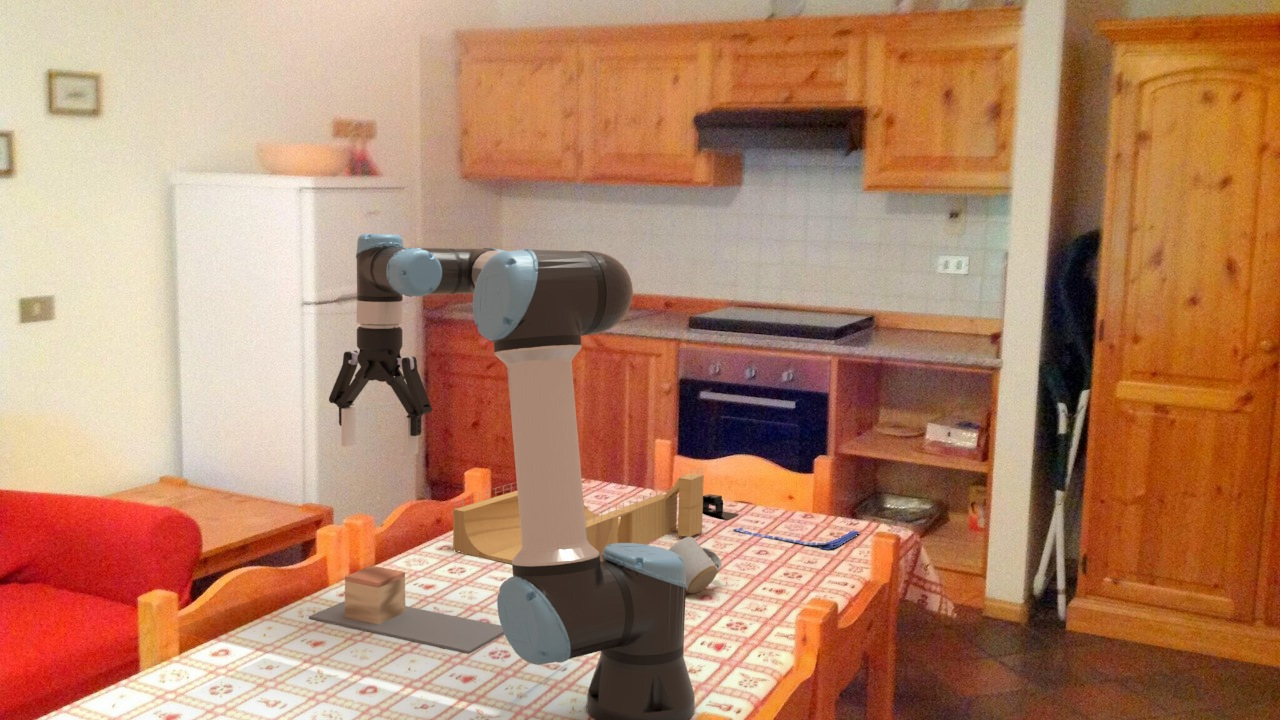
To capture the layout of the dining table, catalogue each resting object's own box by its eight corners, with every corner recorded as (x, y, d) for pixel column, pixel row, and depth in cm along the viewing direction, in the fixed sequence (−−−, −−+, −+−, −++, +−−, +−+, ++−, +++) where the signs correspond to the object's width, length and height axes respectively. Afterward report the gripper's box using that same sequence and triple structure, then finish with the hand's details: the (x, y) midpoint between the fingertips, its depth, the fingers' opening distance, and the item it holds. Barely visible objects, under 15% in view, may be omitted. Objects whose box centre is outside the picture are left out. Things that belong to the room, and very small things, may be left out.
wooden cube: (378, 624, 187) (378, 583, 186) (344, 617, 190) (344, 576, 189) (405, 612, 193) (405, 572, 193) (372, 605, 196) (372, 565, 196)
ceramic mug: (687, 603, 208) (692, 579, 202) (658, 572, 212) (663, 548, 206) (730, 574, 213) (736, 551, 207) (702, 545, 217) (707, 520, 212)
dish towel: (830, 558, 235) (831, 544, 235) (730, 538, 249) (730, 525, 248) (863, 540, 250) (864, 527, 249) (767, 522, 263) (767, 510, 262)
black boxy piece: (681, 515, 264) (681, 495, 264) (698, 510, 270) (698, 490, 270) (726, 521, 257) (726, 500, 257) (743, 515, 263) (743, 495, 262)
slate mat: (469, 653, 176) (469, 650, 176) (309, 618, 190) (308, 616, 190) (510, 629, 187) (510, 627, 187) (356, 598, 201) (356, 596, 201)
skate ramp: (566, 516, 264) (568, 447, 262) (701, 540, 246) (704, 467, 244) (452, 555, 230) (453, 477, 228) (599, 587, 212) (601, 503, 210)
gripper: (453, 329, 190) (452, 454, 192) (338, 319, 201) (338, 437, 203) (425, 332, 183) (424, 462, 186) (307, 322, 194) (308, 444, 197)
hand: (379, 449), depth 195 cm, fingers open, 13 cm apart
